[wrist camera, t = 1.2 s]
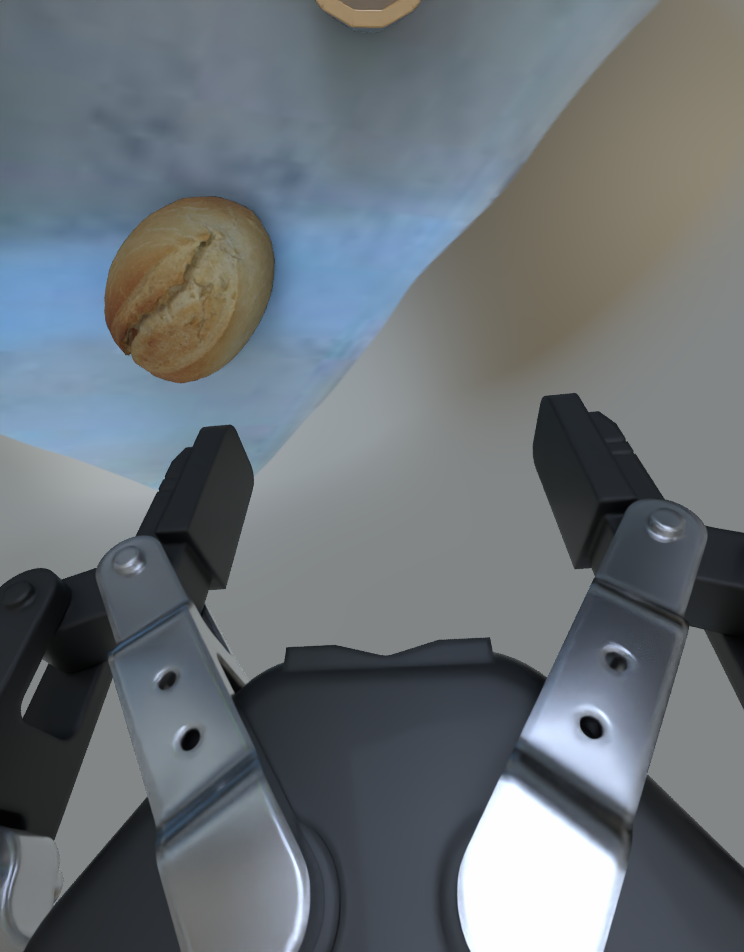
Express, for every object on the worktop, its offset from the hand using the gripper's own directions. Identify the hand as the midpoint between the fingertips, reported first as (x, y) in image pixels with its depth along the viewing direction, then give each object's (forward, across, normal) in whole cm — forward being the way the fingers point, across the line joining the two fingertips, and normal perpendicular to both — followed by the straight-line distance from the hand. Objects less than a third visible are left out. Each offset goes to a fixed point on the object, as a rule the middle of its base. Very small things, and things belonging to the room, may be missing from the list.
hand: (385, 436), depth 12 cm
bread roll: (+26, +14, +4) cm, 30 cm away
